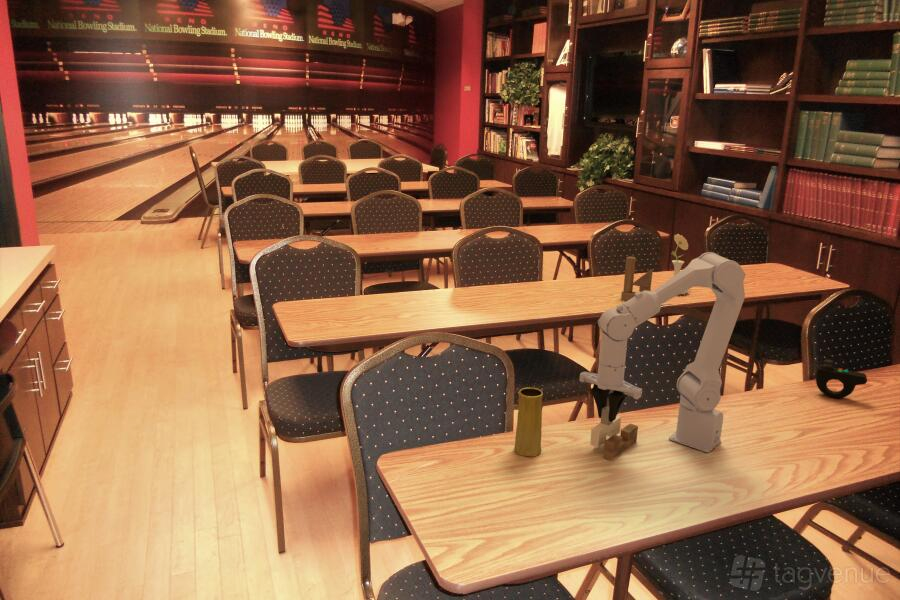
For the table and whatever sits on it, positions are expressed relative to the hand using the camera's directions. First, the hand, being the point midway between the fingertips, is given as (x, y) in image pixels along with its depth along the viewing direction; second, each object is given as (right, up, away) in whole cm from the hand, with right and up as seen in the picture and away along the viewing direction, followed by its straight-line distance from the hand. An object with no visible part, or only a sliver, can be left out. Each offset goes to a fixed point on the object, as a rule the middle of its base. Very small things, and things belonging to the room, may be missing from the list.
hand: (607, 418), depth 152 cm
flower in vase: (+60, +30, +133) cm, 149 cm away
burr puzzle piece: (0, -5, +1) cm, 5 cm away
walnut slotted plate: (+3, -7, -1) cm, 7 cm away
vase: (-18, -7, -2) cm, 20 cm away
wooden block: (+39, +26, +118) cm, 127 cm away
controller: (+70, 0, +30) cm, 76 cm away
